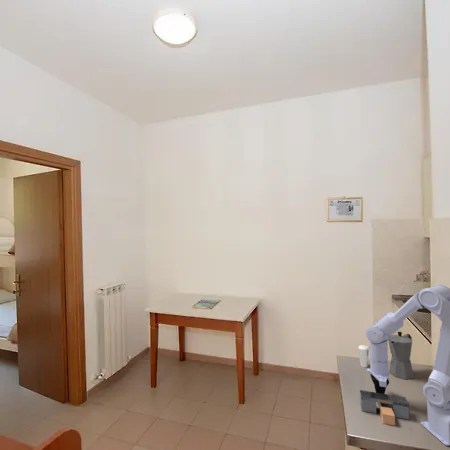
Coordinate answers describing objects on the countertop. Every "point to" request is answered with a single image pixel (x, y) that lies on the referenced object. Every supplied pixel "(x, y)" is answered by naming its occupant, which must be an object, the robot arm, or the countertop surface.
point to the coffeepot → (401, 356)
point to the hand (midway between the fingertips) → (380, 396)
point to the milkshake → (363, 355)
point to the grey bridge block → (397, 402)
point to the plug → (386, 414)
